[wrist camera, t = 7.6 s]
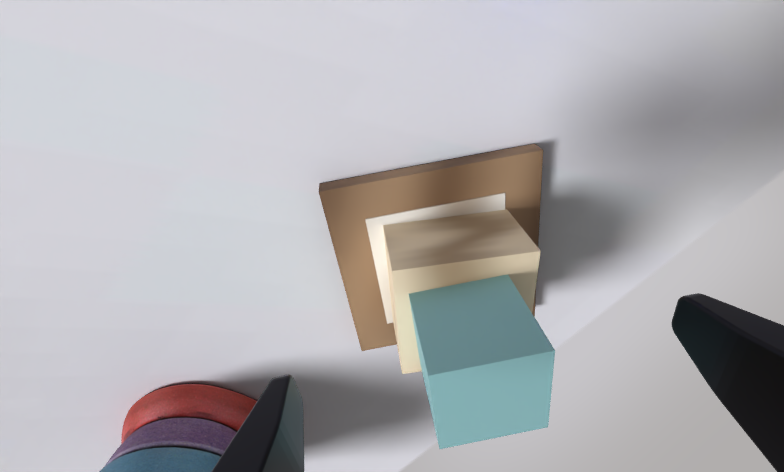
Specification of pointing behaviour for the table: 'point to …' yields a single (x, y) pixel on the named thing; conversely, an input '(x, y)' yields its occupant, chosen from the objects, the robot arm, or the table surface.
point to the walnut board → (419, 218)
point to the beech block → (453, 263)
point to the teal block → (482, 361)
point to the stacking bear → (180, 429)
